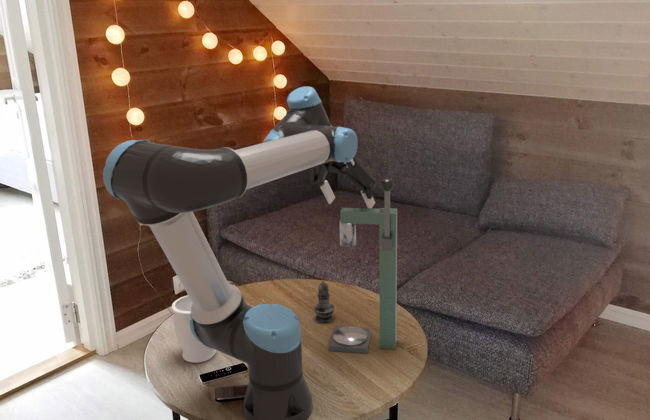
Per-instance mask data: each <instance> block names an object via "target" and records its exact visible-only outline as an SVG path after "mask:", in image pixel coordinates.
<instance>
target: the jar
mask: <svg viewBox="0 0 650 420" xmlns="http://www.w3.org/2000/svg"><path fill="white" fill-rule="evenodd" d="M192 304H193V303H192V301H191V299H190V297H189V295H188V294H187V295H184V296H181V297H179V298H177V299H176V300H174V301H173V303H172V304H171V311H172V312H173V327H174V332H175V336H176V339H177V341H178V345H179V347H180V349H181V351H182V358H183V360H184V361H186V362H188V363H195V364H197V363H204V362H206V361H209V360H211V359H212V358H213V357H214V356H215V355H216V353H217V350H215V349H212V348H209V347H207V346H205V345H203V344H202V343H201V342H199V341H198V340H197V339H196V338H195V337H194V336H193V334H192V332H191V329H190V320H191V317H190V314H191V307H192Z"/></svg>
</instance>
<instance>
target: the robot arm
mask: <svg viewBox="0 0 650 420" xmlns="http://www.w3.org/2000/svg"><path fill="white" fill-rule="evenodd" d="M286 103H287V107H288V108H289V110H288V111H287V112H286V113H285V115H284V116H283V117H282V119H281V120H280V121H278V122H277V124H276V125H275V126H274V127H273V128H272V129H271V130H270V131H269V133H267V136H266V137H265V138H264V140H263V142H262V143H258V144H254V145H251V146H247V147H242V148H239V149H233V148H231V147H227V146H226V147H219V148H214V149H202V148H201V149H200V148H190V147H186V146H185V147H184V146H178V145H177V146H176V145H172V144H165V143H164V144H163V143H158V142H157V143H156V142H151V141H150V140H147V139H139V140H135V139H133V140H131V139H130V140H127V141H124V142H122V143H120V144H118V145H117V146H115V147H114V148H113V149H112V151H110V153H109V154H108V156H107V158H106V159H105V164H104V167H103V171H102V176H103V177H102V179H103V184H104V186H105V189H106V190H107V192H108V193H109V194H110V195H111V196H113V197H114V198H115V199H116V200H118V201H121V202H123V201H124V202H125V203H126V205H127V207H128V208H129V211H130V212H131V213H132V215H133V217H134V219H135V220H136V222H137V223H138V224H140V225H142V226H146V227H147V226H148V227H149V228H150V230H151V232H152V233H153V235H154V237H155V239H156V241H157V242H158V244H159V246H160V247H161V249H162V251H163V253H164V255H165V257H166V258H167V260H168V261H169V263H170V266H171V267H172V269H173V271H174V272H175V274H176V276H177V278H178V279H179V281H180V283H181V284H182V287H183V288H184V291H185V292H186V293H187V295H189V297H190V299H191V301H192V303H193V304H192V307H191V314H190V317H191V320H190V329H191V332H192V334H193V336H194V337H195V338H196V339H197V340H198V341H199V342H201V343H202V344H203V345H205V346H207V347H209V348H212V349H215V350H216V352H217V351H218V352H220V353H222V354H225V355H227V356H229V357H232V358H234V359H236V360H239V361H240V362H243V363H246V365H247V369H248V379H249V380H248V381H249V382H248V384H247V387H246V392H245V396H244V399H243V414H244V418H245V419H246V420H307V419H308V418H309V416H310V415H311V414H312V411H313V397H312V392H311V390H310V389H309V388H310V387H309V386H308V384H307V381H306V379H305V376H304V374H303V372H304V371H303V349H302V348H303V347H302V330H301V326H300V320H299V317H298V316H297V314H296V313H295V312H294V311H293V310H292V309H290V308H289V307H287V306H285V305H283V304H278V303H272V304H269V303H260V304H256V305H254V306H251V305H249V304H247V302H246V300H245V297H244V296H243V294H242V291H240V289H239V288H238V286H236V285H235V284H231V283H229V281H228V280H227V278H226V276H225V273H224V272H223V269H222V268H221V266H220V264H219V261H218V260H217V258H216V256H215V254H214V251H213V249H212V248H211V245H210V244H209V242H208V241H209V240H208V239H207V237H206V236H205V233H204V231H203V230H202V227H201V226H200V224H199V221H198V220H197V217H196V215H195V214H194V212H198V211H201V210H206V209H210V208H212V207H215V206H219V205H223V204H225V203H229V202H233V201H235V200H237V199H240V198H241V197H243V196H244V194H245V193H246V191H247V190H248V189H249V190H250V189H252V188H255V187H258V186H261V185H264V184H267V183H269V182H270V183H271V182H272V181H273V182H274V181H275V180H278V179H281V178H285V177H287V176H289V175H293V174H295V173H296V174H297V173H299V172H302V171H305V170H308V169H309V178H310V179H309V181H310V184H313V185H314V184H316V186H318V188H319V190H320V192H321V193H322V194H323V195H324V198H325V200H326V201H327V203H328V204H329V205H331V204H332V203H333V201H334V200H335V199H336V196H335V194H334V193H335V192H333V190H332V188H331V185H330V183H329V181H328V180H326V177H327V175H328V173H330V174H338V175H341V176H342V177H345V178H346V179H348V180H349V181H351V182H352V183H353V184H354V185H355V186H357V187H358V189H360V193H361V197H362V199H363V200H364V203H365V204H366V208H373V207H374V206H375V204H376V201H375V198H374V193H373V190H372V189H373V187H374V186H375V185H376V182H375V180H374V179H373V178H372V177H371V176H370V175H369V174H368V173H367V172H366V171H365V170H364V169H363V167H362V166H361V165H360V164H359V163H358V161H357V160H356V158H355V156H356V154H357V153H358V152H357V151H358V147H359V145H358V140H359V139H358V137H357V134H356V132H355V131H354V130H353V129H351V128H349V127H342V126H332V124H331V121H330V119H329V117H328V114H327V112H326V109H325V107H324V104H323V103H322V100H321V98H320V97H319V94H318V93H317V90H316V89H315V88H314V87H313V86H301V87H298V88H295V89H294V90H293V91H291V92H290V93H289V94H288V96H287V99H286ZM319 165H320V166H321V170H320V173H319ZM344 169H345V170H344Z"/></svg>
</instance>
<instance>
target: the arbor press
mask: <svg viewBox="0 0 650 420" xmlns="http://www.w3.org/2000/svg"><path fill="white" fill-rule="evenodd" d="M394 187H395V184H394V181H393V179H391V178H384V179H383V180H382V181H381V182H380V188H381V189H382V190H383V192H384V207H381V208H373V207H372V208H368V207H362V208H361V207H341V210H340V211H339V213H340V218H339V219H340V220H339V245H340V246H341V247H343V248H344V247H345V248H352V247H354V246H356V245H357V226H356V225H379V229H378V232H379V235H378V236H379V242H378V243H379V247H378V248H379V249H378V250H379V257H378V258H379V265H378V266H379V349H391V350H396V346H397V345H396V344H397V315H398V314H397V303H398V302H397V298H398V297H397V292H398V291H397V287H398V285H397V284H398V281H397V280H398V277H397V276H398V275H397V274H398V208H394V207H391V191H392V190H393V188H394ZM371 336H372V327H359V326H353V325H352V326H351V325H350V326H344V325H334V326H333V330H332V333H331V336H330V339H329V342H328V346H327V347H328V350H327V351H329V352H338V353H339V352H342V353H355V354H368V350H369V346H370V340H371Z"/></svg>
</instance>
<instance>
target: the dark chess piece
mask: <svg viewBox="0 0 650 420" xmlns="http://www.w3.org/2000/svg"><path fill="white" fill-rule="evenodd" d="M330 297H331V295H330V293H329V285H328V284H327V283H325V281H324V280H322V281H321V283H320V284H318V294H317V298H318V303H317V304H315V305H314V306H313V311H314V312H315V314H316V316H315V322H317V323H318V324H324V325H325V324H330V323H331V322H333V321H334V318H335V317H334V316H333V313H334V311H335V306H334V304H333V303H330Z"/></svg>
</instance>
